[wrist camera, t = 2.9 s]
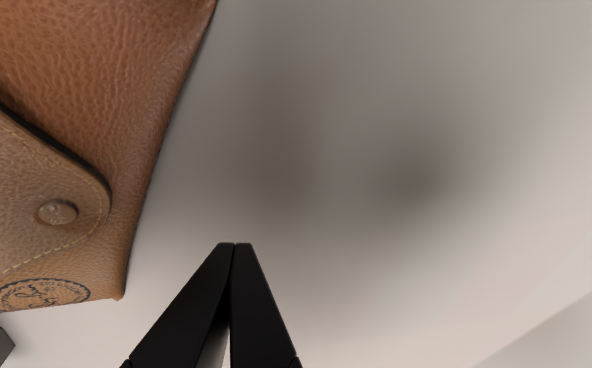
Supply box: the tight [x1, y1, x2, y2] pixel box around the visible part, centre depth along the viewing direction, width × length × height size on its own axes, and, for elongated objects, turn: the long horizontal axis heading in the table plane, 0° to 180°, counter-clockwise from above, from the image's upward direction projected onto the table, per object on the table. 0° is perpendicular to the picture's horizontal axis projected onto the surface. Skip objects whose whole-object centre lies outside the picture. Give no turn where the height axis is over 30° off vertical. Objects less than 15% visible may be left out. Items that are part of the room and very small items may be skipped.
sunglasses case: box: [0, 0, 217, 313], centre depth 12 cm, size 18×7×7 cm
